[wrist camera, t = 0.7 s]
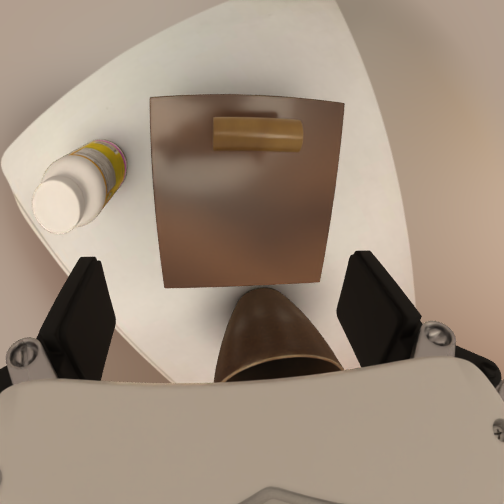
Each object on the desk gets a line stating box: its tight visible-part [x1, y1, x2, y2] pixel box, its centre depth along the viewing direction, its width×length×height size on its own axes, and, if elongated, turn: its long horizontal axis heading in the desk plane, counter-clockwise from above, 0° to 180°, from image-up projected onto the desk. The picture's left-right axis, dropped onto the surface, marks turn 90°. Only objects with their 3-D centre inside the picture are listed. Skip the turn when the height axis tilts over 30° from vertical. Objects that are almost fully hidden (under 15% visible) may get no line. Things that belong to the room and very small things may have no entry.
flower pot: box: [214, 288, 344, 383], centre depth 37 cm, size 15×15×16 cm
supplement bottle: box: [32, 140, 127, 234], centre depth 26 cm, size 7×7×13 cm
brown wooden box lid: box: [150, 94, 344, 288], centre depth 21 cm, size 15×14×5 cm
